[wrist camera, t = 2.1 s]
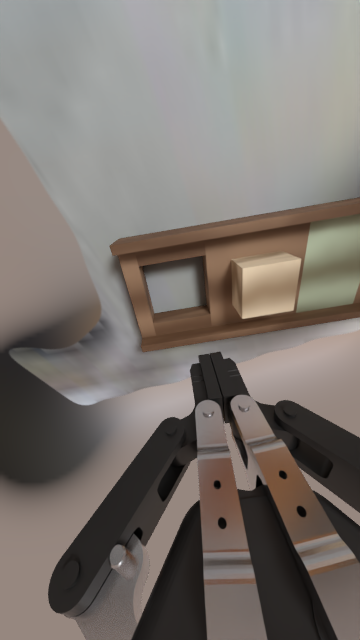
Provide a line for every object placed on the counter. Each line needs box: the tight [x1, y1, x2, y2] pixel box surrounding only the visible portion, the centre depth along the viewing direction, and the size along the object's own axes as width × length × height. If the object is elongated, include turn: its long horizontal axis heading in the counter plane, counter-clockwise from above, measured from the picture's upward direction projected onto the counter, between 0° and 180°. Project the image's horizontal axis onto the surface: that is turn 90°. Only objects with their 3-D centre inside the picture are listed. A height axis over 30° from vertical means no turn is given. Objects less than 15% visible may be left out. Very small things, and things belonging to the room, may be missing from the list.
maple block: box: [231, 251, 301, 319], centre depth 24 cm, size 6×6×4 cm
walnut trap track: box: [110, 197, 360, 352], centre depth 26 cm, size 14×42×5 cm, turn 98°
